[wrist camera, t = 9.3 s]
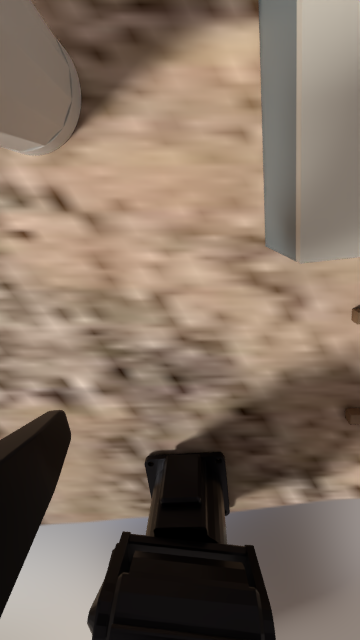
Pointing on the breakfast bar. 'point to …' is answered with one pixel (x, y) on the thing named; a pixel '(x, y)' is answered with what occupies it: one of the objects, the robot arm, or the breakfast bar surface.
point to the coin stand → (354, 413)
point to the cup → (34, 83)
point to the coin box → (311, 127)
